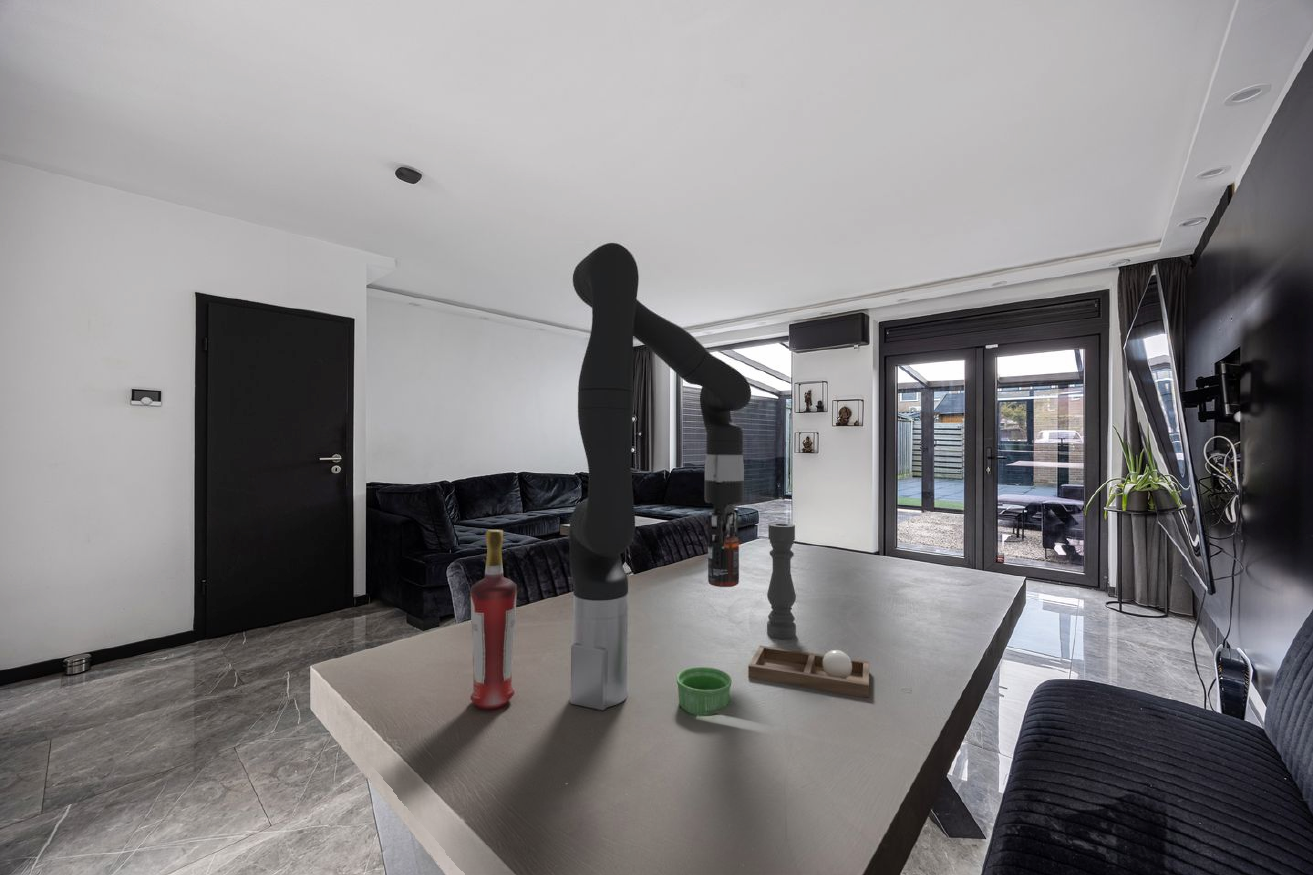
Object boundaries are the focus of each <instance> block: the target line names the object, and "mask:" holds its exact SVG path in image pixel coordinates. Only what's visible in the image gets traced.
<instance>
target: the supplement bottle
mask: <svg viewBox="0 0 1313 875" xmlns="http://www.w3.org/2000/svg"><path fill="white" fill-rule="evenodd" d="M723 532H725V531H723ZM733 532H734V526H733V525H731V526H730V534H729V538H727V539H726V548H725V568H724V569H723V570H718V569H714V568H713V549H712V548H711V547H709V545H708V544H707V560H708V561H707V580H708V584H709V585H710V586H713V587H718V588H731V587H732V588H733V587H735V586H737V585H738V584H739V582H740V557H739V556H740V553H739V551H740V541H739V540H740V539H738V536H737V537H736V536H734V534H733ZM716 541H719V537H717V538H716Z"/></svg>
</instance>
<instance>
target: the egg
mask: <svg viewBox="0 0 1313 875" xmlns="http://www.w3.org/2000/svg"><path fill="white" fill-rule="evenodd" d="M824 655H825V656H824V658H823V663H822V664H823V669H824V671H825V673H826V674H827V675H828V676H830V677H836V678H842V679H846V678H848V677H849V675H850V674H851V672H852V662H851V660H850V659H851V658H850V657H849V656H848V654H847V653H845V651H843V650H840V649H832V650H829V651H828V652H826V654H824Z"/></svg>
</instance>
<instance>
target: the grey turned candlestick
mask: <svg viewBox="0 0 1313 875" xmlns="http://www.w3.org/2000/svg"><path fill="white" fill-rule="evenodd" d="M767 526H768V527H767V528H768V532H767V533H768V536H767V537H768V540H769V543H770V545H771V547H772V549H771V550H770V551H769V556H770V557H771V558H772V572H771V575H770V581H769V584H768V585H769V586H768V590H767V595H766V598H767V600H768V602H769V604H770V605H771V606H770V608H771V611H770V612H769V614H768V616H767V619H768V621H767V622H766V635H767V636H768V637H770V638H772V639H776V640H782V641H783V640H785V641H786V640H788V641H789V640H792V639H795V638H796V637H797V625H796V623H795V620H796V618H795V616H794V615H793V614H794V613H792V609H793V608H792V607H793V606H794V604H795V602H796V599H797V595H796V590H795V586H794V582H793V577H792V573H791V571H792V570H791V567H792V566H791V562H792V561H791V559H792V558H793V557H794V555H795V554H794V552H793V551H792V550H791V548H792V547H793V545H794V543H795V542H794V541H796V525H795V524H793V523H787V522H772V523H768V525H767Z"/></svg>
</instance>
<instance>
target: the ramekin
mask: <svg viewBox="0 0 1313 875" xmlns="http://www.w3.org/2000/svg"><path fill="white" fill-rule="evenodd" d="M732 681H733V680H732V678H731V676H730V674H728V673H727V672H726V671H723V670H721V669H718V668H714V667H709V666H708V667H707V666H696V667H695V666H694V667H690V668H686V669H684V670H681V671H680V672H679V673H677V675H676V684H677V688H678V689H677V693H678V702H679V705H680V707H681V709H682V710H683V711H685V712H687V713H689V714H691V715H693V716H699V717H700V716H701V717H713V716H717V715H719V713H716V712H711V711H716V710H719V709H723V708H724V707H725V706H727V705H728V703H729V701H730V691H731V686H732Z"/></svg>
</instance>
